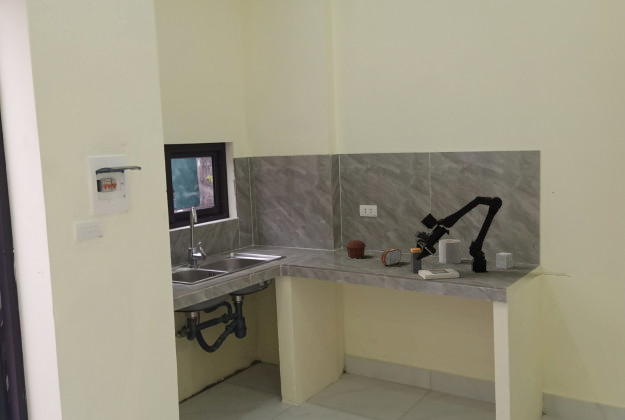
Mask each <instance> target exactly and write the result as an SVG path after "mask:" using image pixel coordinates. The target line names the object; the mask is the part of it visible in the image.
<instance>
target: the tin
mask: <svg viewBox="0 0 625 420" xmlns="http://www.w3.org/2000/svg"><path fill="white" fill-rule="evenodd" d="M401 260H402V250H400V249H399V248H396V247H395V248H389V249H385V250H384V251H382V254H381V260H380V261H381V263H382V264H383V266H388V265H389V266H393V265H397V264H399V263H400V262H401Z"/></svg>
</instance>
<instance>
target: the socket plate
mask: <svg viewBox="0 0 625 420" xmlns="http://www.w3.org/2000/svg"><path fill="white" fill-rule="evenodd" d="M418 275H419V276H420V277H422V278H423V279H424V280H434V279H435V280H436V279H437V280H439V279H454V278H460V272H458V271H457V270H455V269H453V268H438V269H435V268H434V269H422V270H419V273H418Z"/></svg>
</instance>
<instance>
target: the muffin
mask: <svg viewBox="0 0 625 420" xmlns="http://www.w3.org/2000/svg"><path fill="white" fill-rule="evenodd" d="M345 246H346V251H347V257H348V258H349V257H350V258H349V259H354V258H356V259H363V258H364V256H365V250H366V247H367V245H366V243H365V242H364V241H362V240H361V239H352V240H350V241H348V242H347V244H346V245H345ZM362 257H363V258H362Z"/></svg>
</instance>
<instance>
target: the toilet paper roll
mask: <svg viewBox="0 0 625 420" xmlns="http://www.w3.org/2000/svg"><path fill="white" fill-rule="evenodd" d="M438 260H439V261H438V262H439V263H440V264H444V265H457V264H461V263H462V241H461V239H456V238H455V239H454V238H453V239H452V238H451V239H450V238H447V239H446V238H445V239H440V240H439V243H438Z"/></svg>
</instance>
